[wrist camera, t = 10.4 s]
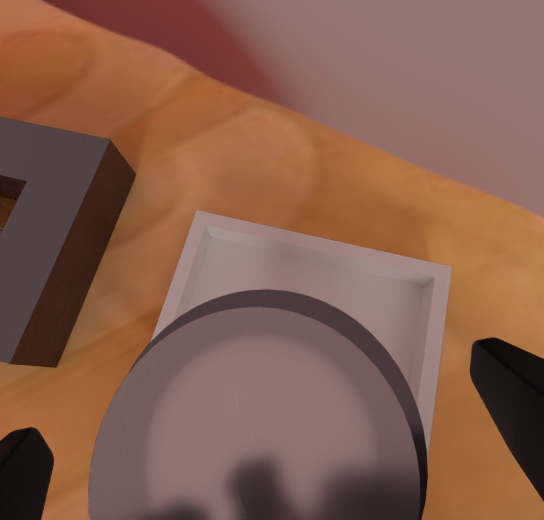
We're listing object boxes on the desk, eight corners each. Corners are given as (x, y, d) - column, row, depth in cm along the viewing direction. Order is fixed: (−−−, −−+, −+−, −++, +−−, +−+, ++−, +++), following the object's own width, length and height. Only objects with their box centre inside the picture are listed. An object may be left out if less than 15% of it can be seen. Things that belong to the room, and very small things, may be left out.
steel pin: (299, 493, 15) (344, 945, 3) (205, 426, 15) (-70, 552, 4) (354, 388, 16) (555, 391, 4) (263, 332, 17) (197, 192, 5)
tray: (382, 654, 13) (397, 699, 12) (96, 554, 15) (68, 579, 13) (434, 279, 18) (451, 266, 16) (206, 227, 19) (196, 209, 17)
